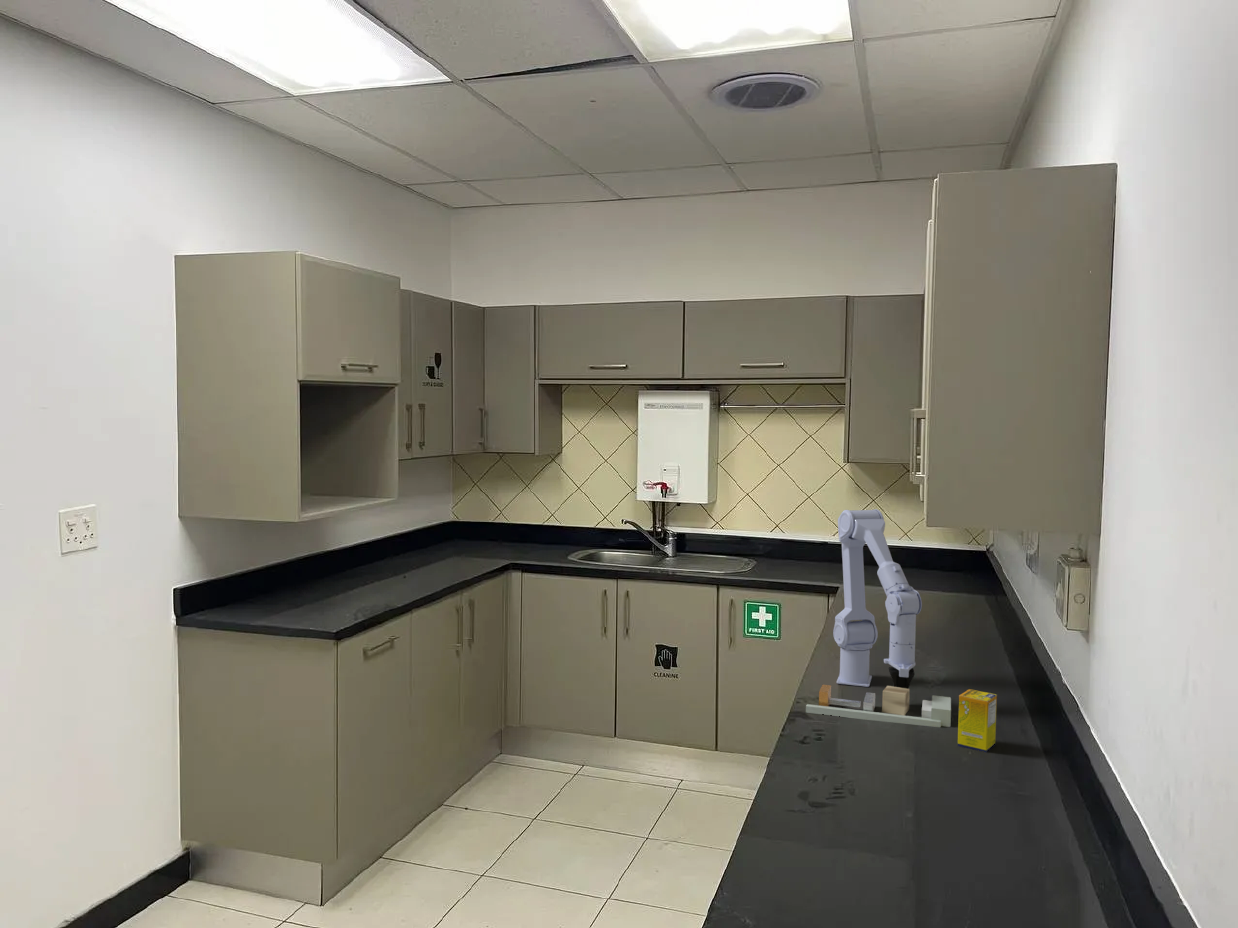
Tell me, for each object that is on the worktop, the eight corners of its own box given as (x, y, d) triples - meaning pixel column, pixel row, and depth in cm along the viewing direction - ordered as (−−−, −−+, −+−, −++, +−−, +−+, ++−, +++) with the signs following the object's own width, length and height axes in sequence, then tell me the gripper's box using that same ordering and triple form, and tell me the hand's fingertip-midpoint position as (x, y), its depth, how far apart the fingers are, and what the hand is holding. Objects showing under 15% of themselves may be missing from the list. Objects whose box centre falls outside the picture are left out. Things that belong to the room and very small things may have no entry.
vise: (812, 698, 220) (812, 682, 220) (950, 714, 210) (950, 697, 210) (805, 712, 210) (806, 695, 210) (950, 729, 200) (950, 711, 199)
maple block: (886, 706, 215) (887, 685, 215) (908, 710, 213) (909, 688, 212) (882, 712, 211) (882, 691, 210) (904, 716, 208) (905, 694, 208)
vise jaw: (822, 699, 219) (823, 683, 218) (874, 705, 215) (875, 688, 214) (818, 709, 211) (818, 692, 211) (872, 716, 207) (872, 698, 207)
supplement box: (966, 739, 194) (968, 688, 193) (995, 746, 190) (997, 694, 189) (956, 747, 189) (958, 694, 188) (986, 754, 185) (988, 700, 185)
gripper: (882, 633, 223) (881, 689, 223) (886, 648, 208) (884, 707, 209) (913, 635, 221) (911, 691, 222) (918, 650, 207) (917, 710, 208)
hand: (900, 699), depth 215 cm, fingers closed
